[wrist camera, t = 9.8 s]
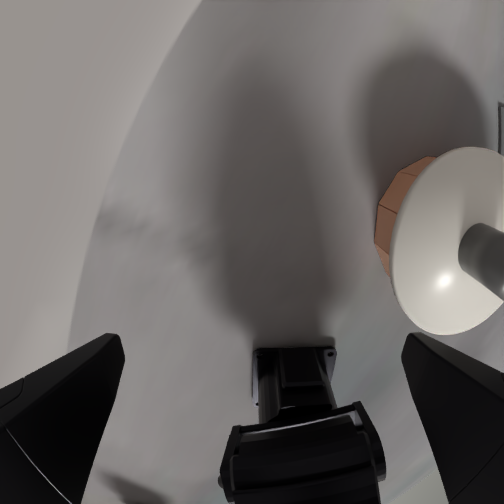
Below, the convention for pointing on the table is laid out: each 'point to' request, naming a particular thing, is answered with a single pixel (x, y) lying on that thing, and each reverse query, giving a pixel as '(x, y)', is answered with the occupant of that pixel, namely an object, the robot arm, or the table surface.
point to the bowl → (394, 206)
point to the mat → (501, 131)
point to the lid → (451, 242)
